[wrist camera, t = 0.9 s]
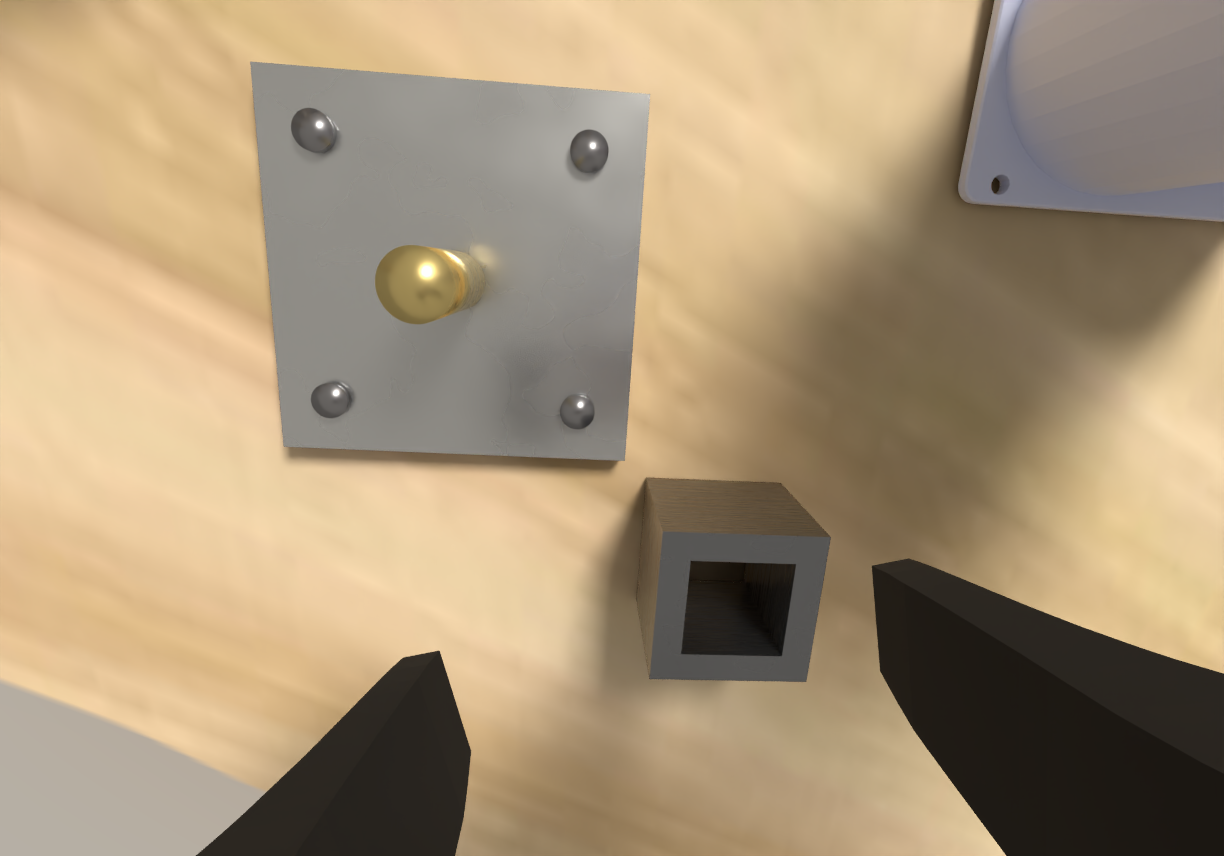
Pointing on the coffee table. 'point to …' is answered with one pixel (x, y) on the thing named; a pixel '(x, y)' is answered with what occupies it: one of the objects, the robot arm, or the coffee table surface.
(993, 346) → the coffee table surface
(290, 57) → the coffee table surface
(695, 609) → the hollow square tube
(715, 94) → the coffee table surface
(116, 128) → the coffee table surface
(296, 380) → the anchor plate
